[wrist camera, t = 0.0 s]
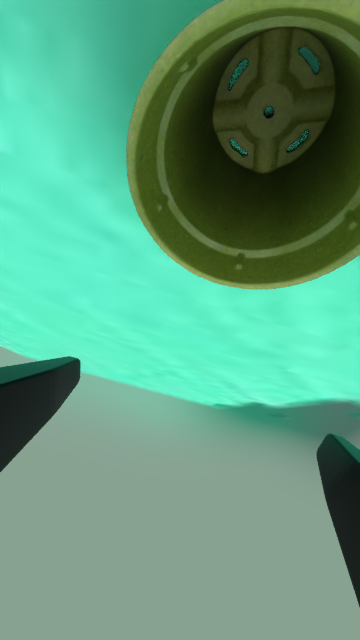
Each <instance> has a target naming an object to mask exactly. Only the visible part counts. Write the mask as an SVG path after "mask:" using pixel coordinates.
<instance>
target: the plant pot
mask: <svg viewBox="0 0 360 640" xmlns="http://www.w3.org/2000/svg"><path fill="white" fill-rule="evenodd" d="M305 46H306V47H307V48H308V49H309V50H310V51H312V53H313V55H315V57H316V58H317V59H318V61H319V63H320V71H319V72H318V73H317V74H314V72H313V70H312V69H311V67H310V66H309V64H308V63H307V62H306V60H305V59H304V58H303V57H302V56H301V55H300V54H299V53H298V50H299V48H303V47H305ZM244 59H247V60H248V61H249V64H248V67H247V68H246V69H245V70H244V71H243V72H242V74H241V75H240V76H239V77H238V79H237V81H236V82H235V84H234V85H233V86H232V89H231V90H230V91H229V90H228V89H229V86H228V85H229V81H230V79H231V76H232V74H233V72H234V70H235V69H236V67H237V66H238V65H239V63H240V62H241V61H243V60H244ZM269 106H270V107H272V108H273V110H274V114H273V116H272V117H271V118H266V116H264V110H265V108H266V107H269ZM305 130H309V135H308V137H307V139H306V140H305V141H304V142H303V143H302V144H301V145H300V146H299V147H298V148H297V149H295V150H294V151H292V152H286V150H287V148H288V147H289V146H290V145H291V144H293V143H294V142H295V141H296V140H297V139H298V138H299V137H300V136H301V135H302V133H303V132H304V131H305ZM230 139H234V140H235V142H237V143H238V145H239V146H240V147H241V148H242V149H243V150H244V151H246V152H247V153H248V155H247V156H245V157H243V156H242V155H240V154H239V153H238V152H237V151H235V150H234V149H233V148H232V147H231V145H230V143H229V142H230ZM126 150H127V176H128V182H129V187H130V192H131V196H132V199H133V202H134V205H135V207H136V210H137V213H138V215H139V217H140V219H141V221H142V223H143V224H144V226H145V228H146V229H147V231H148V232H149V233H150V235H151V236H152V238H153V239H154V241H155V242H156V243H157V244H158V245H159V247H160V248H161V249H162V250H163V251H164V252H165V253H166V254H167V255H168V256H169V257H170V258H171V259H173V260H174V261H175V262H176V263H178V264H180V265H181V266H183V267H184V268H185V269H186V270H188V271H190V272H192V273H193V274H195V275H197V276H200V277H203V278H204V279H207V280H209V281H211V282H214V283H217V284H221V285H225V286H230V287H236V288H241V289H276V288H283V287H289V286H292V285H297V284H301V283H304V282H307V281H311V280H313V279H316V278H318V277H320V276H323V275H325V274H327V273H330V272H332V271H334V270H336V269H338V268H339V267H341V266H343V265H345V264H347V263H348V262H350V261H351V260H353V259H354V258H356V257H357V256H358V255H360V0H222V1H220V2H219V3H217V4H215V5H213V6H212V7H210V8H208V9H207V10H205V11H204V12H202V13H201V14H200V15H199V16H197V17H196V18H195V19H193V20H192V21H191V22H190V23H189V24H188V25H187V26H186V27H185V28H184V29H183V30H182V31H181V32H180V33H179V34H178V35H177V36H176V37H175V38H174V39H173V40H172V41H171V42H170V44H169V45H168V46H167V47H166V49H165V50H164V51H163V52H162V54H161V55H160V57H159V58H158V60H157V61H156V63H155V64H154V66H153V67H152V69H151V71H150V72H149V74H148V75H147V77H146V79H145V82H144V84H143V86H142V88H141V90H140V92H139V95H138V97H137V100H136V103H135V106H134V110H133V113H132V116H131V120H130V125H129V130H128V137H127V149H126Z"/></svg>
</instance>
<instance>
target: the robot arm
mask: <svg viewBox="0 0 360 640" xmlns="http://www.w3.org/2000/svg"><path fill="white" fill-rule="evenodd" d="M79 379H80V360H79V359H78V358H74V357H70V356H68V357H62V358H56V359H50V360H43V361H38V362H31V363H25V364H19V365H13V366H6V367H1V368H0V472H1V471H2V470H3V469H4V468H5V467H6V466H7V465H8V464H9V462H10V461H11V460H12V459H13V458H14V457H15V456H16V455H17V454H18V453H19V452H20V451H21V450H22V449H23V447H24V446H25V445H26V444H27V443H28V442H29V441H30V440H31V439H32V438H33V437H34V436H35V435H36V434H37V433H38V431H39V430H40V429H41V428H42V427H43V426H44V425H45V424H46V423H47V422H48V421H49V420H50V419H51V418H52V416H53V415H54V414H55V413H56V412H57V410H58V409H59V408H60V407H61V405H62V404H63V403H64V401H65V400H66V399H67V397H68V396H69V395H70V393H71V392H72V390H73V389H74V388H75V386H76V385H77V384H78V382H79ZM317 461H318V466H319V471H320V476H321V480H322V485H323V490H324V494H325V499H326V502H327V506H328V509H329V512H330V515H331V518H332V521H333V525H334V528H335V531H336V534H337V537H338V541H339V543H340V547H341V550H342V553H343V556H344V559H345V563H346V566H347V568H348V572H349V575H350V578H351V581H352V585H353V588H354V590H355V594H356V597H357V600H358V603H359V607H360V450H359V449H358V448H356V447H355V446H354V445H352V444H351V443H350V442H349V441H347V440H346V439H345V438H343V437H341V436H338V435H335V434H332V433H329V434H327V435H326V437H325V438H324V440H323V441H322V443H321V444H320V446H319V448H318V451H317Z"/></svg>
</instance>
